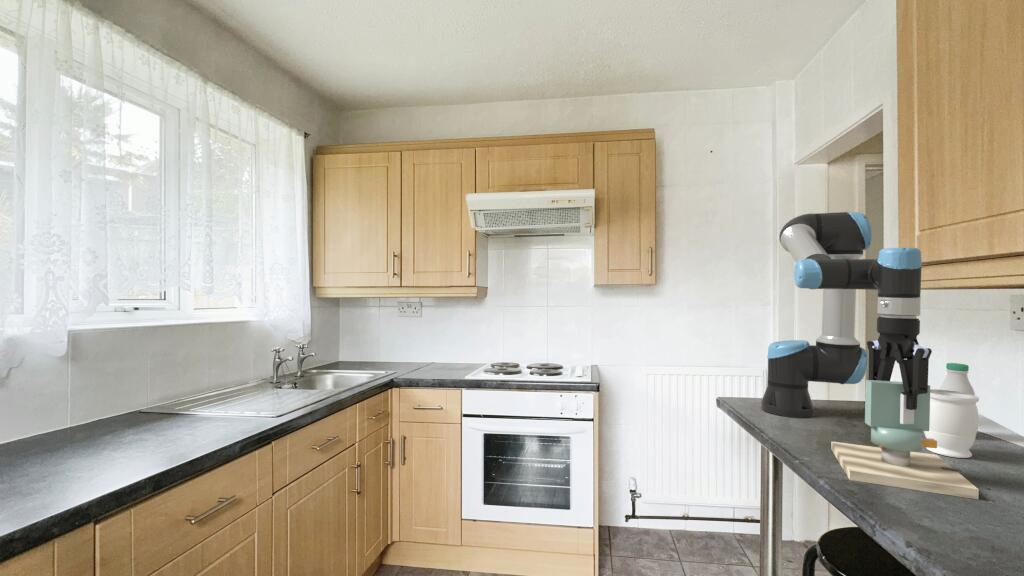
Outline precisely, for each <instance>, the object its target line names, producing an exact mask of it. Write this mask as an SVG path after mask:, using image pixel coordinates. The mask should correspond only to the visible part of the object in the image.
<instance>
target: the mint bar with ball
mask: <svg viewBox="0 0 1024 576" xmlns="http://www.w3.org/2000/svg"><path fill="white" fill-rule="evenodd" d="M930 389H931V385H930V384H928V392H927V393H926V394H919V395H918V396H917V409H916V410H914V424H901V423H900V397H901V394H902V393H901V392H904V388H903V382H902V381H894V380H893V381H891V380H890V381H878V380H868V379H865V394H864V396H865V401H864V402H865V405H864V407H865V408H864V423H865V425H868V426H869V427H870V441H871V442H872V443H873V444H874V445H876V446H878V447H879V446H882V447H885V448H889V449H893V450H899V451H908V452H922V451H923V448H926V447H927V448H937V441H936V440H934V439H929V438H926V437H925V438H924V437H923V433H924V431H929V424H930ZM927 448H926V449H927Z"/></svg>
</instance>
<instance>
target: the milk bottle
mask: <svg viewBox="0 0 1024 576" xmlns="http://www.w3.org/2000/svg"><path fill="white" fill-rule="evenodd" d="M945 366H946V369H945V370H946V372H947V374H946V377H945V379H944V380H943V382H942V383H941V384H940V387H939V389H938V390H949V391H957V392H962V393H968V394H972V395H975V396H976V393H975V390H974V388H973V386H972V385H971V383H970V380H969V377H968V373H969V368H970V367H969V365H968V364H965V363H957V362H955V363H954V362H948V363H946V365H945Z"/></svg>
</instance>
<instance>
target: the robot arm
mask: <svg viewBox="0 0 1024 576" xmlns="http://www.w3.org/2000/svg"><path fill="white" fill-rule="evenodd" d="M872 236H873V235H872V228H871V224H870V221H869V218H868V217H867V215H865V214H864V213H862V212H855V211H852V212H851V211H845V212H844V211H843V212H841V211H840V212H823V213H819V212H817V213H806V214H801V215H798V216H795V217H794V218H792V219H790V220H789V221H788V222H786V223H785V224H784V225H783V227H782V228H781V229H780V233H779V236H778V237H779V238H778V239H779V243H780V245H781V246H782V248H783V250H785V251H786V252H788V253H790V255H791V257H792V258H793V260H794V261H795V265H794V270H793V271H794V272H793V273H794V274H793V277H794V284H795V285H796V287H797V288H799V289H808V290H822V313H821V314H822V318H821V320H822V321H821V322H822V325H821V335H820V336H819V337H817V338H816V340H815V345H812V344H810V343H809V341H808V340H803V339H798V340H796V339H795V340H794V339H790V340H781V341H774V342H771V343H770V344H769V346H768V347H767V348H768V349H767V356H766V358H767V382H766V383H767V386H766V388H765V392H764V393H763V396H762V399H761V403H760V409H761V410H762V411H764V412H766V413H770V414H773V415H777V416H781V417H790V418H811V417H814V416H815V407H814V403H813V401H812V398H811V395H810V392H809V382H814V383H816V382H817V383H831V384H840V385H845V384H846V385H856V384H858V383H860V382H861V381H862V380H863V379H864V377H865V375H866V372H867V369H868V376H867V377H868V379H867V380H878V381H891V379H892V375H893V371H894V367H895V363H897V364H898V365H899V370H900V372H899V373H900V375H901V377H900V378H901V382H903V388H904V392H901V393H902V394H901V397H900V423H901V424H914V410H916V409H917V396H918V395H919V394H926V393H927V392H928V385H929V366H930V365H929V361H930V357H931V355H932V353H933V352H932V348H929V347H927V348H926V347H923V346H921V345H920V344H919V342H918V338H917V337H918V336H919V335H920V334H921V330H920V328H921V320H920V319H919V318H917V317H919V316H921V291H922V290H921V289H922V288H921V287H922V266H923V262H922V260H923V259H922V251H921V250H920V249H919V248H917V247H888V248H887V247H886V248H882V249H880V250H879V252H878V258H862V257H863V256H864V251H866V250H868V249H870V247H871V245H872V239H873V237H872ZM856 290H867V291H868V290H871V291H872V290H873V291H877V314H878V315H880V316H878V317H877V319H876V332H877V333H879V335H878V338H877V340H876V339H875V340H867V342H866V346H867V348H868V353H867V350H866V349H865V348H863V347H861V342H860V341H859V340H858V339H857V338H856V337H855V330H856V329H855V322H856V321H855V320H856V296H857V295H856V292H857V291H856Z"/></svg>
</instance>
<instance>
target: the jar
mask: <svg viewBox="0 0 1024 576" xmlns="http://www.w3.org/2000/svg"><path fill="white" fill-rule="evenodd" d="M979 401H980V397H979V396H977V395H976V394H975V395H972V394H968V393H962V392H957V391H949V390H939V389H933V388H932V389H931V388H930V424H929V431H923V433H924V436H925V438H929V439H934V440H936V441H937V448H927V447H925V448H926V449H927V451H930V452H931V453H934V454H936V455H941V456H945V457H951V458H958V459H967V458H971V457H972V456H973V454H972V452H971V451H970V449H971V448H973V447H972V446H974V444H975V442H976V437H977V433H978V431H979V430H978V429H979V422H980V421H979V420H980V419H979V410H978V407H977V403H978V402H979Z"/></svg>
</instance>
